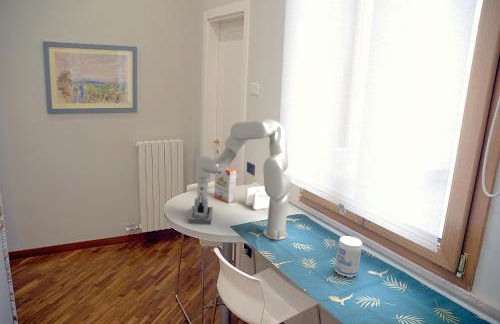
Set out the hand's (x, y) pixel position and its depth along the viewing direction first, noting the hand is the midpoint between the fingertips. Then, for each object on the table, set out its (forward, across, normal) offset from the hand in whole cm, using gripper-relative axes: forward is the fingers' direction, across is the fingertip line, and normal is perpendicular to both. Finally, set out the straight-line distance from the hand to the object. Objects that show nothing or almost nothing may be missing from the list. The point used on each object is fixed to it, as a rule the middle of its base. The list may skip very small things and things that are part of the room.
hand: (201, 210), depth 204 cm
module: (+1, 0, 0) cm, 1 cm away
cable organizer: (+4, +21, -35) cm, 41 cm away
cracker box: (+4, +31, -13) cm, 34 cm away
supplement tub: (+4, -54, -66) cm, 85 cm away
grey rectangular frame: (+4, 0, 0) cm, 4 cm away
